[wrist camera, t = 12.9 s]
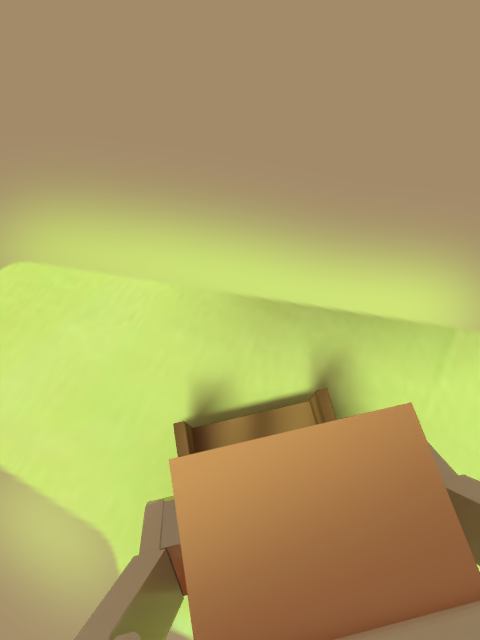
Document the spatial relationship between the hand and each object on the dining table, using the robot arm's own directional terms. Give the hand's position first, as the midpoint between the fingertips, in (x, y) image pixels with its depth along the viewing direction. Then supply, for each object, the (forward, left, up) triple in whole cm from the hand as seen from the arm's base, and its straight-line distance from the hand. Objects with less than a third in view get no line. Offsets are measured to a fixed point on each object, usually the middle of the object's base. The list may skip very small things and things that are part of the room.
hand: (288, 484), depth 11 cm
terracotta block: (0, +1, -5) cm, 5 cm away
